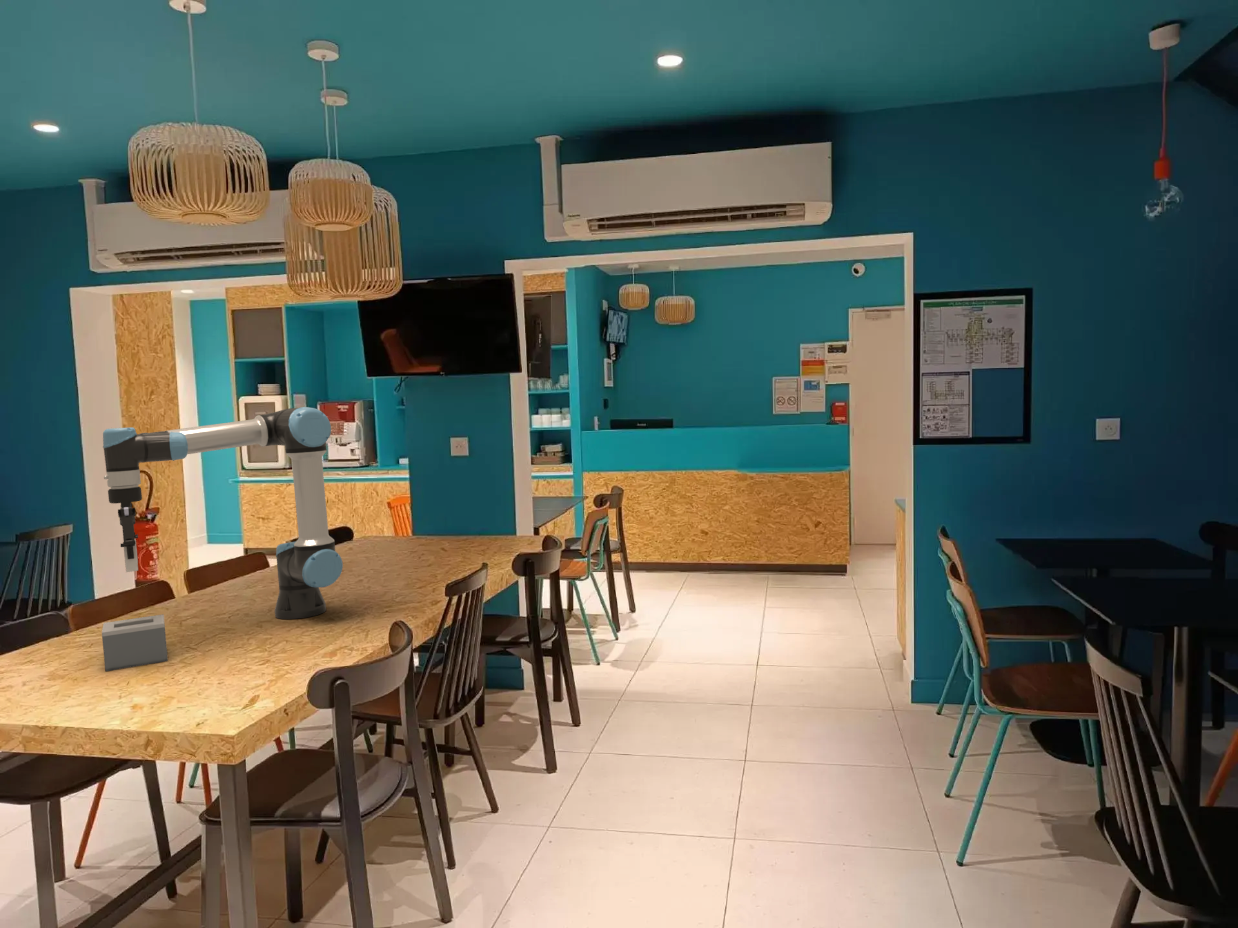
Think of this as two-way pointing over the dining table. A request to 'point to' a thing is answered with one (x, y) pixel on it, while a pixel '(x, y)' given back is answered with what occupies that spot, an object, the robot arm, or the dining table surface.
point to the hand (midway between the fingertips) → (132, 567)
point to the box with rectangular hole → (134, 642)
